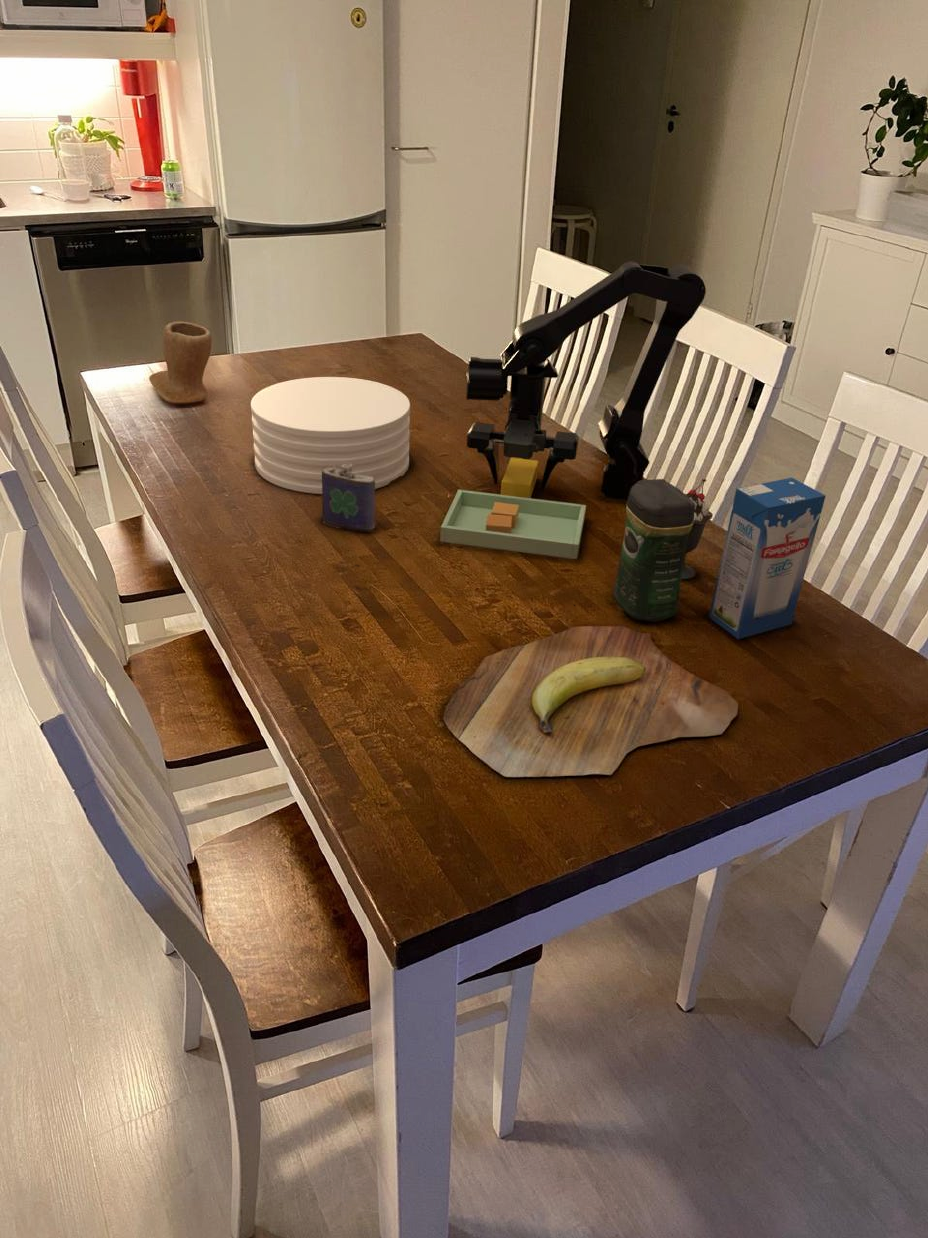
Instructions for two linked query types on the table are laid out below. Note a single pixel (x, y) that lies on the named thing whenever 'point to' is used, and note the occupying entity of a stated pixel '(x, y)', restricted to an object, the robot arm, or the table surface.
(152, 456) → the table surface
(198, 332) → the brown boot
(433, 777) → the table surface
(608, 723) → the cutting board
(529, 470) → the sponge
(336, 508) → the flask
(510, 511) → the block
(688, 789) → the table surface
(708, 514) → the sundae
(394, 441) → the plate stack
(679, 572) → the coffee jar
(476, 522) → the tray
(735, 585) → the milk carton
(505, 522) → the block
